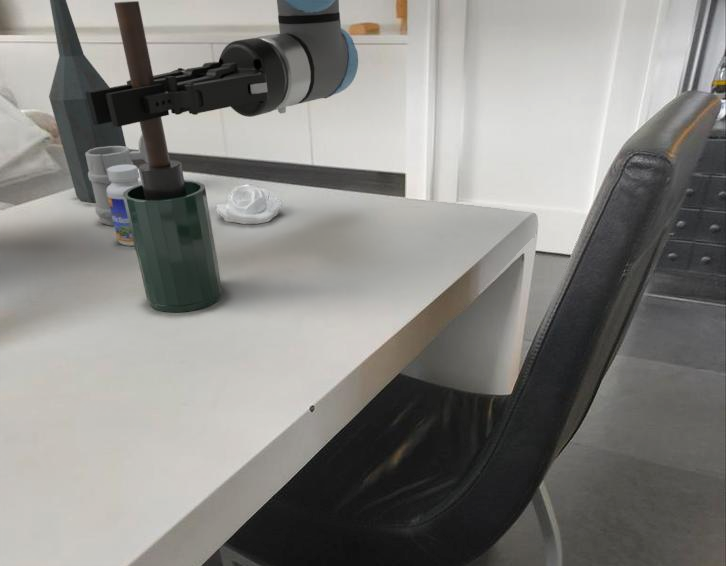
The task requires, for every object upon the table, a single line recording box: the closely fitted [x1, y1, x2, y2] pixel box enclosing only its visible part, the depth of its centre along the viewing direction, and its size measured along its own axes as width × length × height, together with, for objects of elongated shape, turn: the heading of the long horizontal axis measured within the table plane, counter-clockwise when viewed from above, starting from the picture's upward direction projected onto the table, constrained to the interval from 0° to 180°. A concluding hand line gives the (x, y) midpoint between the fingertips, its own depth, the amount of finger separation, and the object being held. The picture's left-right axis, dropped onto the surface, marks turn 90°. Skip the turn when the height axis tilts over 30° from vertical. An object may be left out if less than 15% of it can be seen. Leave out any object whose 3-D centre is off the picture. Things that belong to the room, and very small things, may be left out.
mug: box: [85, 134, 148, 226], centre depth 103 cm, size 8×12×12 cm, turn 95°
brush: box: [113, 0, 187, 200], centre depth 69 cm, size 4×4×20 cm
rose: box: [215, 184, 283, 225], centre depth 104 cm, size 10×4×10 cm
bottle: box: [48, 0, 127, 204], centre depth 110 cm, size 10×10×30 cm
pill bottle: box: [106, 164, 142, 247], centre depth 95 cm, size 5×5×10 cm
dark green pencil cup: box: [123, 179, 223, 313], centre depth 77 cm, size 9×9×12 cm
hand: (102, 109), depth 64 cm, fingers closed on brush, 2 cm apart
